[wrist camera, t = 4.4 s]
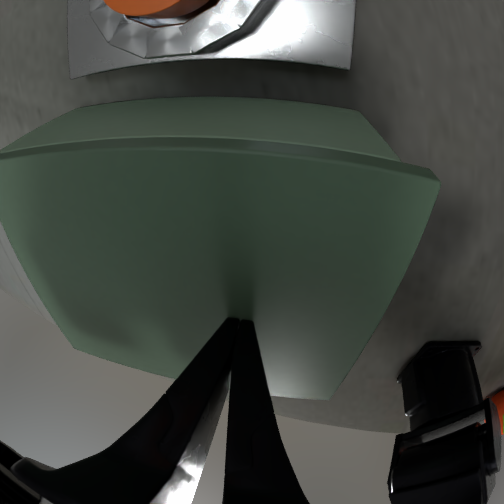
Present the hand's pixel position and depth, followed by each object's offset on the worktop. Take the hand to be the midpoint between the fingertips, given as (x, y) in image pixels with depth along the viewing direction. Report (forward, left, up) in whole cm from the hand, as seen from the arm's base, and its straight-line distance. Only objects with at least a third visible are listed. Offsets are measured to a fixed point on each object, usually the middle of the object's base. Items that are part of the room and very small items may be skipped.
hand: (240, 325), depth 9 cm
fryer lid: (+3, 0, -1) cm, 3 cm away
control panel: (+3, -11, -7) cm, 13 cm away
